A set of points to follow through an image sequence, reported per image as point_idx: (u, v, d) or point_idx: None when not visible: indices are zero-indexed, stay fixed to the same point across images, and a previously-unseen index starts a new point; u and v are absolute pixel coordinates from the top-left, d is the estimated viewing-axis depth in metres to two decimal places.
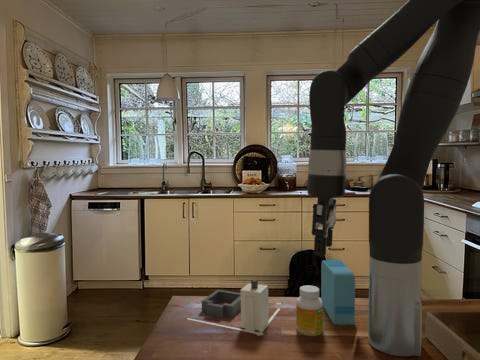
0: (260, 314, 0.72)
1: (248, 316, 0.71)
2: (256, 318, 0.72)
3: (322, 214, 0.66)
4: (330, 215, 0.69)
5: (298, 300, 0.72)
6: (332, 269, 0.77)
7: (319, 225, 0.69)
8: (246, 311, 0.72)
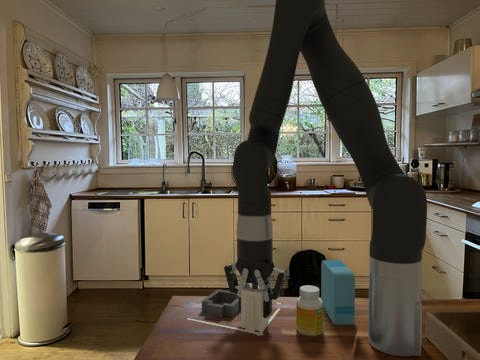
0: (260, 314, 0.72)
1: (249, 316, 0.71)
2: (256, 318, 0.72)
3: (284, 279, 0.72)
4: None
5: (298, 300, 0.72)
6: (332, 269, 0.77)
7: None
8: (246, 311, 0.72)
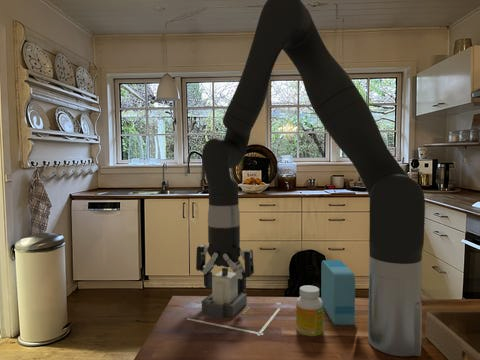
0: (229, 298, 0.81)
1: (218, 299, 0.80)
2: (225, 301, 0.81)
3: (251, 257, 0.81)
4: (237, 257, 0.83)
5: (298, 300, 0.72)
6: (332, 269, 0.77)
7: None
8: (216, 295, 0.81)
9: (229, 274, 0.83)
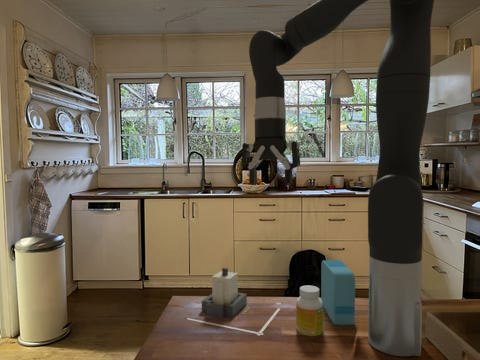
0: (229, 298, 0.81)
1: (218, 299, 0.80)
2: (225, 301, 0.81)
3: (298, 149, 0.83)
4: (283, 152, 0.85)
5: (298, 300, 0.72)
6: (332, 269, 0.77)
7: None
8: (216, 295, 0.81)
9: (229, 274, 0.83)
